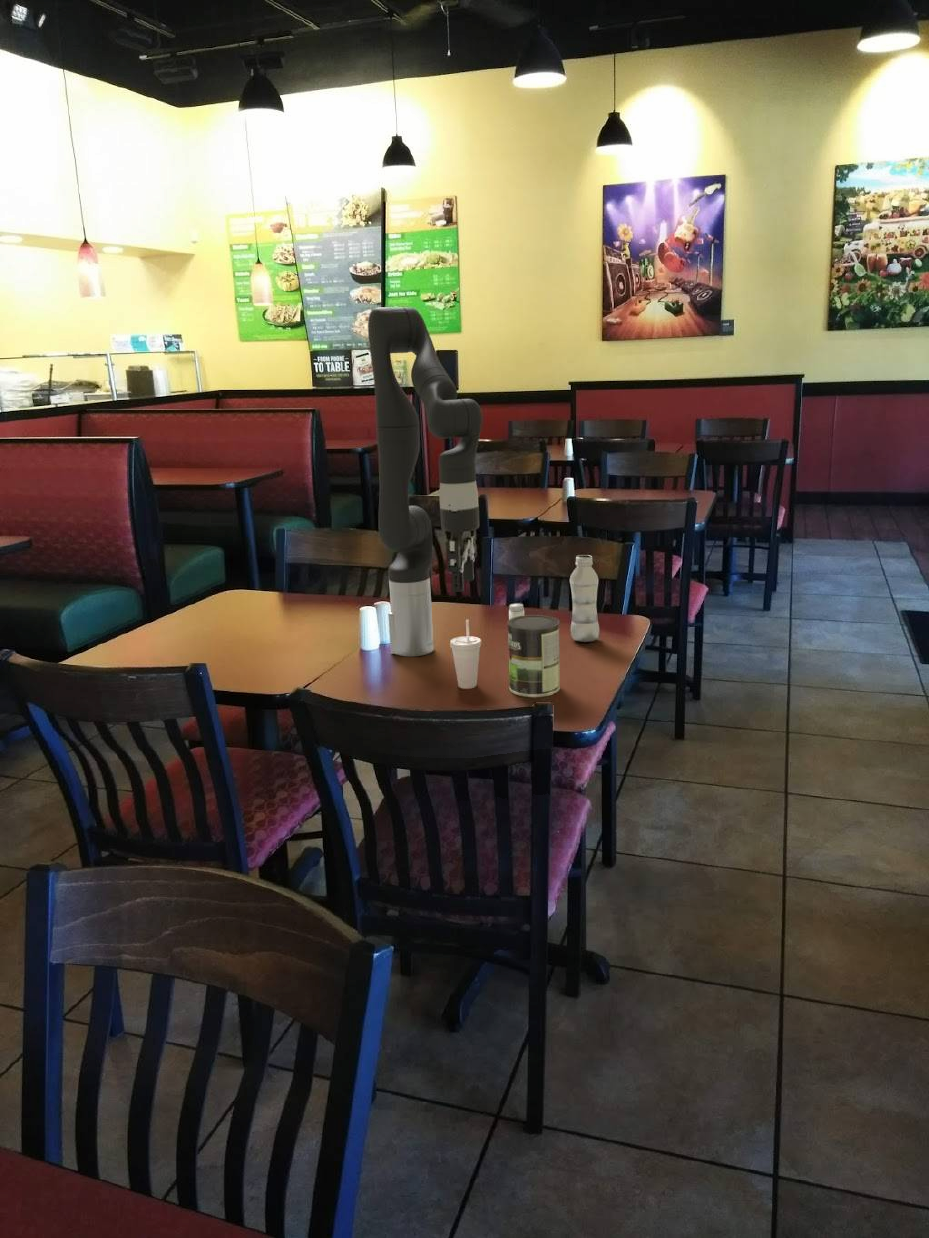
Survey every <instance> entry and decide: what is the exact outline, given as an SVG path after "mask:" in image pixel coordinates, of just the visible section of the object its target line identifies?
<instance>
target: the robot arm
mask: <svg viewBox="0 0 929 1238" xmlns="http://www.w3.org/2000/svg"><path fill="white" fill-rule="evenodd" d="M367 322H368V323H367V324H368V325H367V329H368V330H367V333H368V334H367V335H368V343H369V351H370V359H371V367H372V374H373V383H374V398H375V401H374V402H375V426H376V427H375V428H376V442H377V453H378V455H377V456H378V475H379V477H378V478H379V481H378V482H379V496H378V497H379V498H378V499H379V500H378V501H379V502H378V519H377V520H378V522H377V523H378V524H377V525H378V534H379V538H380V541H381V544H382V545H383V546H384V547H385V548H386V550H388V551H390V552H392V553H397V554H396V557H395V559H394V560H393V561H392V563H391V564H390V565H389V567H388V584H389V585H388V586H389V587H388V588H389V599H390V600H389V601H390V612H389V613H388V615H387V616H388V628H389V629H388V633H389V644H390V654H391V655H393V654H395V655H397V656H401V657H419V656H421V657H422V656H424V655H429V654H431V653H432V652H434V650H435V649H434V632H433V630H434V629H433V612H432V596H431V593H432V592H431V578H430V577H431V576H430V572H431V571H430V570H431V568H432V565H433V527H432V523H431V519H430V517H429V514H428V513H427V511H425V510H424V509H423V508H422V507H420V506H417V505H410V501H409V498H410V497H409V495H410V493H409V491H410V490H409V489H410V483H411V480H412V476H413V473H414V470H415V468H416V464H417V461H418V457H419V453H420V449H421V440H420V438H421V437H420V435H421V434H420V418H419V415H418V413H417V410H416V408H415V406H414V404H413V403H412V401H411V400H410V398H409V397H408V396H407V394H406V393H405V392H404V390H403V388H402V386H401V384H400V383H399V381H398V379H397V377H396V375H395V372H394V368H393V363H392V358H391V356H392V355H391V354H407V353H408V354H409V353H412V354H414V355H415V356H416V357H415V359H414V362H413V364H412V367H411V371H410V378H411V383H412V386H413V388H414V390H415V392H416V394H417V395H418V397H419V398H420V400H421V402H422V404H423V407H424V412H425V416H426V425H427V429H428V431H429V432H430V434H432V435H433V436H434V437H435V438H438V439H441V440H442V439H452V438H453V439H454V438H459V440H458V442H457V445H456V446H455V447H453V448H452V449H449V450H445V451H443V452H441V454H439V458H438V472H439V473H438V474H439V492H438V494H439V495H438V496H439V498H438V499H439V513H440V528H441V530H442V531H445V532H450V534H451V535H450V539H449V540H446V541H445V551H446V553H445V555H446V571H447V572H448V573H449V574H451V575H450V576H451V577H450V578H451V590H452V591H453V592H455V593H456V592H457V593H458V592H459V593H461V592H463V591H464V590H465V587H464V585H465V584H464V583H465V582H472V581H475V572H474V562H475V558H476V557H477V554H478V553H477V546H476V545H477V543H476V530H478V529H479V528H480V508H479V507H480V505H479V492H478V486H477V472H476V470H477V469H476V456H477V450H478V444H479V440H480V436H481V432H482V428H483V420H484V419H483V411H482V408H481V406H480V405H479V403H478V402H477V401H476V400H474V399H471V398H461V399H457V397H458V391H457V388H456V385H455V383H454V382H453V381H452V379H451V378H450V375H449V374H448V372H447V371H446V370H445V368H444V367H443V365H442V363H441V362H440V359H439V357H438V354H437V351H436V348H435V347H434V343H433V339H432V338H431V335H430V333H429V331H428V327H427V325H426V322H425V321H424V318H423V316H422V314H421V313H420V312H419V311H418V310H417V309H416V308H414V307H409V306H387V307H386V306H384V307H383V306H382V307H374V308H373V309H371V311H370V312H369V317H368V321H367ZM455 563H456V565H455Z"/></svg>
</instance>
